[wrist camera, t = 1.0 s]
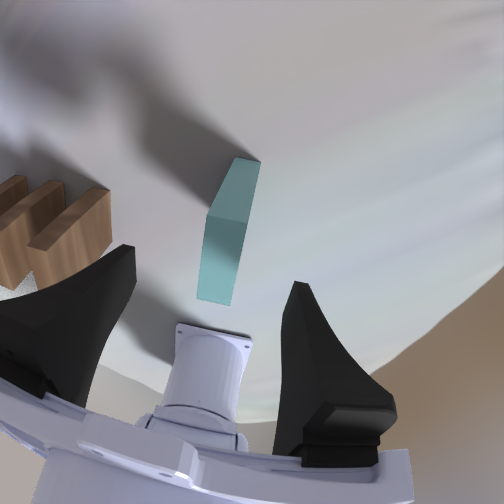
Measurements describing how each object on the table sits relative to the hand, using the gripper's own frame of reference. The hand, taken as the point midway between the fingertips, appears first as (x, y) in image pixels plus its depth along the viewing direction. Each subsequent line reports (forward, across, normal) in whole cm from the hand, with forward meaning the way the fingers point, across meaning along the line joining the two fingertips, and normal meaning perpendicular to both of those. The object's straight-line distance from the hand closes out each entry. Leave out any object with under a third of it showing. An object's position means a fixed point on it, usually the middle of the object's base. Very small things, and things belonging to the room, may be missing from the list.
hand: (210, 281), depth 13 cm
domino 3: (+10, +16, +4) cm, 20 cm away
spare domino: (+10, 0, 0) cm, 10 cm away
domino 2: (+10, +11, +4) cm, 16 cm away
